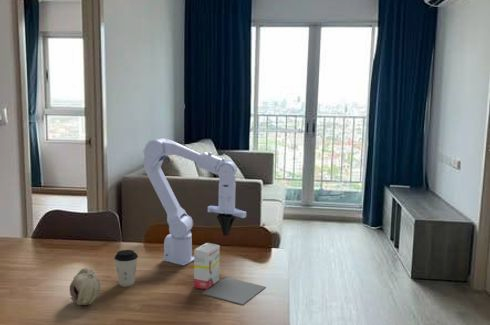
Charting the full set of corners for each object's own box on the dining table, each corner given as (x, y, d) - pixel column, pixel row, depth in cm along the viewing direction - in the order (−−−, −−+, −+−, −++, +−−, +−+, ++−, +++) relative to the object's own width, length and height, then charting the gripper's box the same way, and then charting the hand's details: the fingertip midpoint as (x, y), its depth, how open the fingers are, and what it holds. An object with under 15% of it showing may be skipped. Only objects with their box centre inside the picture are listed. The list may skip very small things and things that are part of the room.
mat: (201, 293, 135) (201, 292, 135) (226, 278, 147) (226, 277, 147) (242, 305, 128) (243, 304, 128) (265, 287, 140) (265, 286, 140)
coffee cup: (142, 280, 144) (142, 250, 142) (130, 289, 137) (129, 257, 136) (123, 277, 146) (122, 247, 145) (110, 286, 140) (109, 254, 138)
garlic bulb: (78, 295, 133) (77, 262, 132) (107, 296, 132) (106, 263, 131) (62, 310, 124) (61, 274, 122) (93, 312, 123) (92, 276, 121)
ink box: (207, 290, 138) (207, 252, 136) (193, 287, 140) (193, 250, 138) (220, 280, 146) (220, 244, 144) (206, 277, 148) (206, 242, 146)
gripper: (202, 195, 157) (202, 234, 159) (239, 201, 150) (238, 241, 152) (214, 192, 163) (213, 229, 165) (249, 197, 156) (248, 236, 158)
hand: (226, 234), depth 159 cm, fingers closed
